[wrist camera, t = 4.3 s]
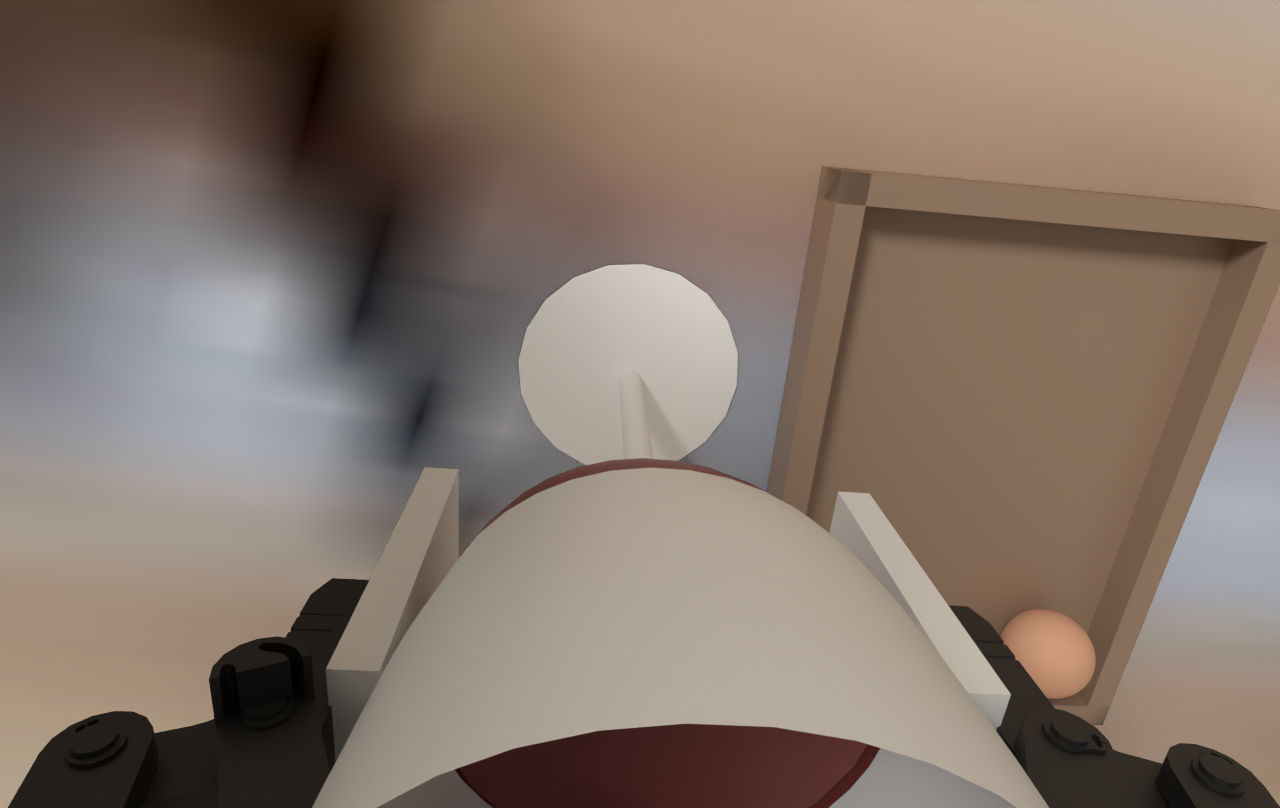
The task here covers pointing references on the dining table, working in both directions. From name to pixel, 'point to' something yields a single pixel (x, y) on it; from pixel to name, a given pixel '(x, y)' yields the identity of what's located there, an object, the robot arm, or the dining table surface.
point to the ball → (1051, 651)
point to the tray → (1022, 384)
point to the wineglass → (660, 616)
